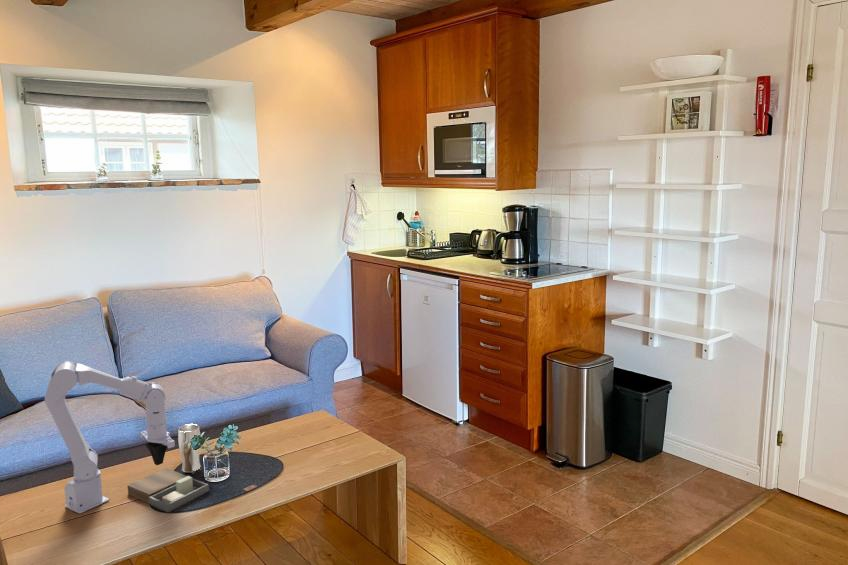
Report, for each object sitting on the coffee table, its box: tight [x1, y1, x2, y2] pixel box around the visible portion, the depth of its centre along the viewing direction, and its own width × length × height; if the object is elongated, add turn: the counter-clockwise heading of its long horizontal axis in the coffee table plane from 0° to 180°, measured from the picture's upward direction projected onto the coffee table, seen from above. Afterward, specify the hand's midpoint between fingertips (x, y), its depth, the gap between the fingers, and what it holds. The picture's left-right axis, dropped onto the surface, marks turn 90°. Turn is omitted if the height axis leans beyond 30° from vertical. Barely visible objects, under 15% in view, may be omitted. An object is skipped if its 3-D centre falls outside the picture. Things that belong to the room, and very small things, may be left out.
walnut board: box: [127, 467, 188, 504], centre depth 206 cm, size 14×11×3 cm
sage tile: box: [176, 475, 193, 495], centre depth 203 cm, size 4×4×2 cm
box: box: [148, 477, 210, 513], centre depth 200 cm, size 15×9×2 cm, turn 148°
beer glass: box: [177, 423, 202, 473], centre depth 218 cm, size 7×7×15 cm
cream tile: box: [162, 491, 184, 503], centre depth 197 cm, size 4×4×2 cm
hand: (158, 463), depth 205 cm, fingers closed
